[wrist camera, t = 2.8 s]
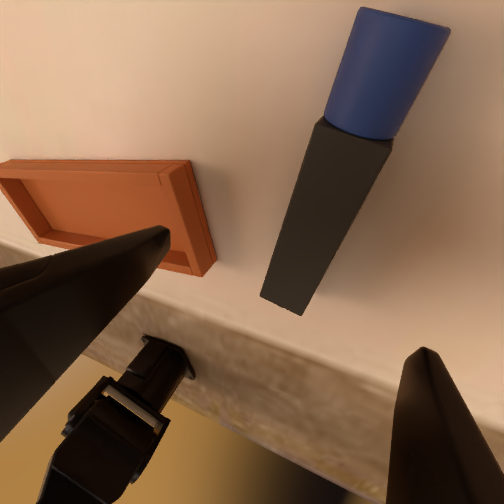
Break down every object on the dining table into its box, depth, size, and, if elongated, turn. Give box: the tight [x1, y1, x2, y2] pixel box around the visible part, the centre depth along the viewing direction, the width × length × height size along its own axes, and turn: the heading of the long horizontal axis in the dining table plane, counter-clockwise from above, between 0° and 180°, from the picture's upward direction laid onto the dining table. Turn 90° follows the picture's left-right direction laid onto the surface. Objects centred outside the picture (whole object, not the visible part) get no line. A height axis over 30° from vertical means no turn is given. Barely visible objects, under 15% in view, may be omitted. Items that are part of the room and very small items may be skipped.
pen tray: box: [0, 160, 217, 277], centre depth 22 cm, size 20×8×2 cm, turn 98°
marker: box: [260, 7, 451, 316], centre depth 13 cm, size 14×3×3 cm, turn 168°
